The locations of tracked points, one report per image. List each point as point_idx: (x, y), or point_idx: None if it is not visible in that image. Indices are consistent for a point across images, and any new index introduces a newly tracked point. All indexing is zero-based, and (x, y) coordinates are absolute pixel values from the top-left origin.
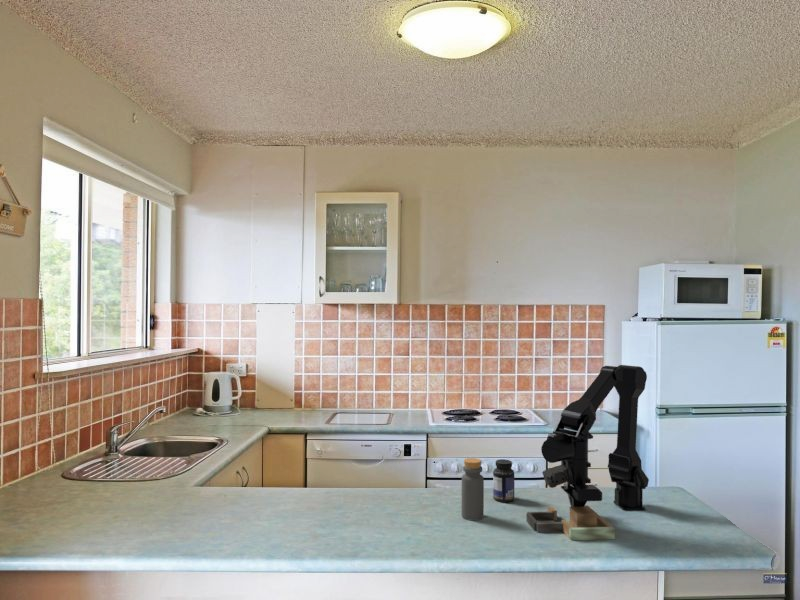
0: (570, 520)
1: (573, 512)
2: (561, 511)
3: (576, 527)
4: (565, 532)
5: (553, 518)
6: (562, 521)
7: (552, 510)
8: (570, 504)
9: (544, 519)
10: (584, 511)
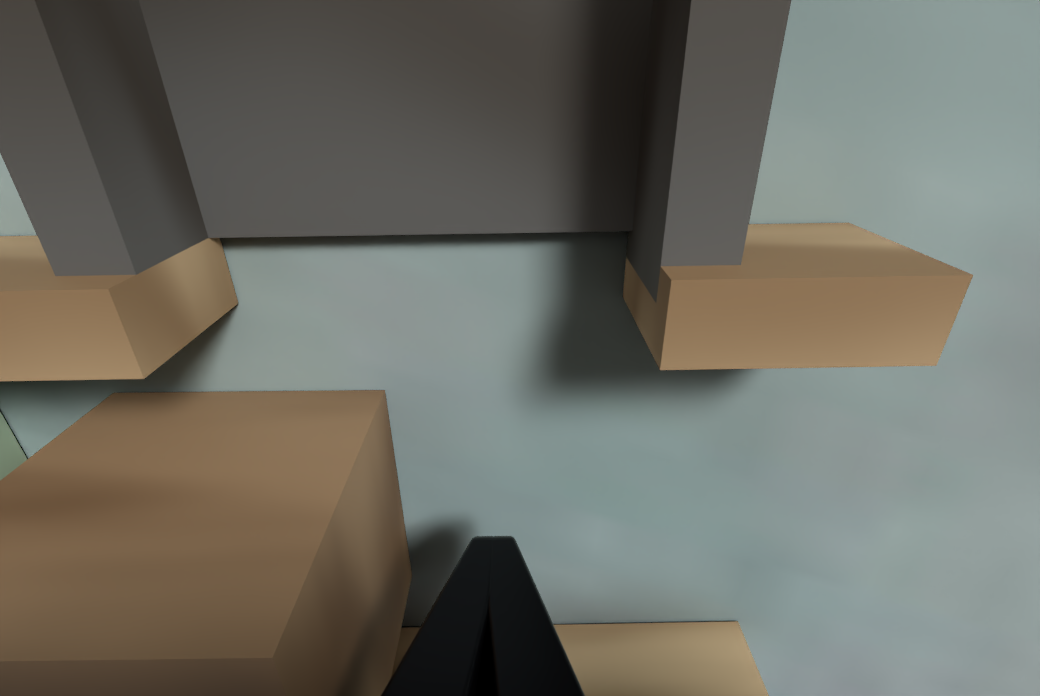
0: (323, 449)
1: (49, 613)
2: (920, 458)
3: (76, 442)
4: (24, 244)
5: (634, 252)
6: (52, 286)
7: (688, 286)
8: (574, 683)
9: (640, 70)
10: None
